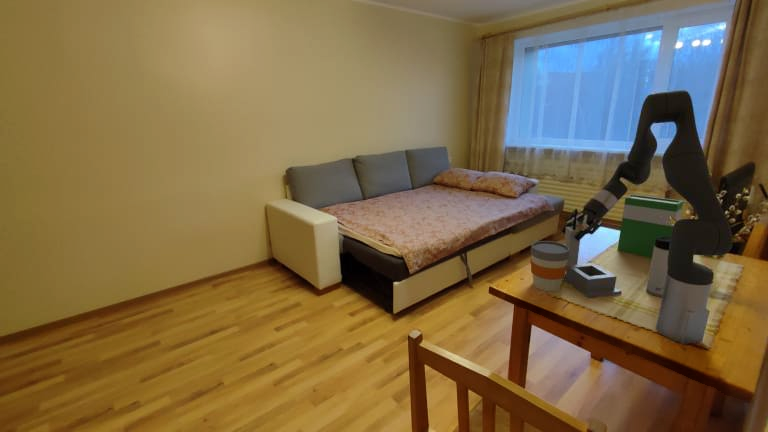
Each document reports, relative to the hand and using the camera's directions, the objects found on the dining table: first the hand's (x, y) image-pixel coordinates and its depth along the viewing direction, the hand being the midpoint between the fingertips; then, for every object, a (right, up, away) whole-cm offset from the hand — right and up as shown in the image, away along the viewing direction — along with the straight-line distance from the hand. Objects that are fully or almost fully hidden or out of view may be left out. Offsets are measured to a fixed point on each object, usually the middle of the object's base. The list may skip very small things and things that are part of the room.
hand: (569, 235), depth 135 cm
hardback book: (+40, -9, +15) cm, 43 cm away
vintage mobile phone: (+2, -14, +4) cm, 14 cm away
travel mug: (+21, -19, -17) cm, 33 cm away
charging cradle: (+2, -17, -9) cm, 20 cm away
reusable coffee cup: (-13, -18, -8) cm, 23 cm away
